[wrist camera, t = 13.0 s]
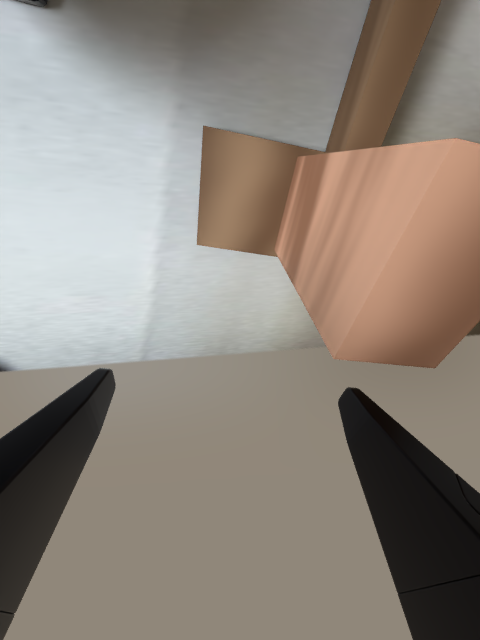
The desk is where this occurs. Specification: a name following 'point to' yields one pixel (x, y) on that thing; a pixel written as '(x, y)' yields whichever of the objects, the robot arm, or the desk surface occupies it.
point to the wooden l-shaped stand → (361, 210)
